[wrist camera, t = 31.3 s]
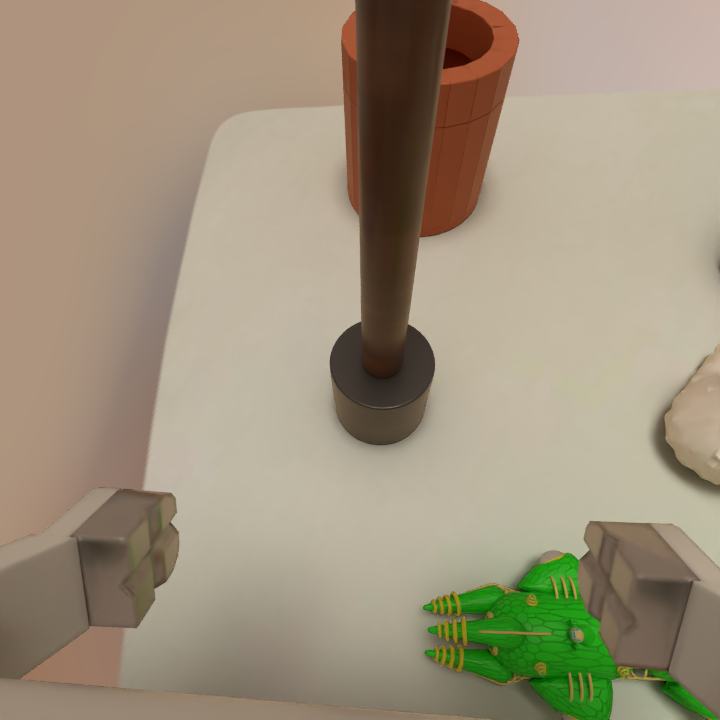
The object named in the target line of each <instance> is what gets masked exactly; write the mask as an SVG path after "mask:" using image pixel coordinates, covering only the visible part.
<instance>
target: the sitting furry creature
mask: <svg viewBox="0 0 720 720" xmlns="http://www.w3.org/2000/svg"><path fill="white" fill-rule="evenodd" d="M664 418H665V427H666V437H665V440H666V441H667V443H668V444H669V445H670V446H671V447H672V448H673V449H674V451H675V456H676V458H677V459H678V461H679V462H680V463H681V464H682V465H684V466H686V467H688V468H690V469H692V470H694V471H695V472H696V473H697V474H698V475H699V476H700V477H701V478H702V479H704V480H708V481H710V482H712V483H713V484H716V485H720V345H718V346H717V347H716V348H715V350H714V353H713V354H711V355H709V356H708V357H707V358H706V359H705V360H704V362H703V364H702V366H701V368H700V369H699V370H697V373H696V374H695V375H694V376H693V377H692V379H691V380H689V383H688V384H687V385H686V387H685V389H683V391H681V392H680V394H679V395H677V396H676V397H674V399H673V402H672V408H671V410H669V411H668V412H667V413H666V415H665V417H664Z"/></svg>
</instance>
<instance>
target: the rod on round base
mask: <svg viewBox="0 0 720 720" xmlns="http://www.w3.org/2000/svg"><path fill="white" fill-rule="evenodd" d="M355 4H356V59H357V113H358V168H359V222H360V277H361V322H359V323H357V324H355V325H353V326H351V327H350V328H348V329H347V330H346V331H345V332H344V333H343V334H342V335H341V336H340V337H339V338H338V340H337V341H336V343H335V345H334V347H333V349H332V352H331V356H330V372H331V379H332V385H333V392H334V399H335V406H336V412H337V416H338V418H339V420H340V422H341V424H342V425H343V427H344V428H345V429H346V430H347V431H348V432H349V433H350V434H351V435H353V436H354V437H355V438H357V439H359V440H361V441H364V442H367V443H370V444H377V445H384V444H391V443H395V442H398V441H400V440H402V439H404V438H406V437H407V436H408V435H410V434H411V433H412V432H413V431H414V430H415V429H416V428H417V426H418V425H419V423H420V421H421V419H422V416H423V413H424V410H425V406H426V402H427V398H428V395H429V391H430V387H431V383H432V380H433V376H434V371H435V358H434V354H433V351H432V349H431V346H430V345H429V343H428V341H427V340H426V339H425V337H424V336H423V335H422V334H421V333H420V332H419V331H418V330H416V329H415V328H414V327H412V326H410V325H409V324H408V319H409V312H410V305H411V297H412V290H413V283H414V275H415V268H416V261H417V253H418V246H419V239H420V231H421V224H422V217H423V209H424V202H425V195H426V187H427V180H428V173H429V165H430V158H431V151H432V143H433V136H434V129H435V121H436V114H437V107H438V99H439V92H440V85H441V77H442V70H443V63H444V55H445V48H446V41H447V33H448V26H449V19H450V11H451V4H452V0H355Z"/></svg>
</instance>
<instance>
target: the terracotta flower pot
mask: <svg viewBox="0 0 720 720" xmlns="http://www.w3.org/2000/svg"><path fill="white" fill-rule="evenodd" d="M341 42H342V43H341V44H342V66H343V90H344V113H345V135H346V158H347V181H348V192H349V198H350V201H351V204H352V205H353V207H354V209H355V210H356V211H357V213H358V214H359V168H358V113H357V59H356V11H354V12H353V13H352V14H351V15H350V17H349V19H348V20H347V21H346V23H345V24H344V26H343V28H342V40H341ZM518 44H519V37H518V33H517V30H516V27H515V25H514V24H513V23H512V22H511V21H510V20H509V19H508V17H507V16H506V15H505V14H504V13H503V12H502V11H500V10H498V9H497V8H495V7H493V6H491V5H489V4H488V3H486V2H483V1H480V0H452V4H451V11H450V19H449V26H448V33H447V41H446V48H445V55H444V63H443V70H442V77H441V85H440V92H439V99H438V107H437V114H436V121H435V129H434V136H433V143H432V151H431V158H430V165H429V173H428V180H427V187H426V195H425V202H424V209H423V217H422V224H421V231H420V236H430V235H435V234H439V233H442V232H445V231H448V230H450V229H452V228H454V227H456V226H458V225H459V224H461V223H462V222H463V221H464V220H466V219H467V218H468V216H469V215H470V214H471V213H472V211H473V210H474V208H475V206H476V203H477V200H478V196H479V193H480V190H481V186H482V182H483V178H484V175H485V171H486V167H487V163H488V159H489V155H490V152H491V148H492V144H493V140H494V136H495V132H496V129H497V125H498V121H499V117H500V113H501V110H502V106H503V102H504V98H505V94H506V90H507V86H508V83H509V79H510V75H511V71H512V67H513V63H514V60H515V56H516V52H517V48H518Z"/></svg>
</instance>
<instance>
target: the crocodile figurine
mask: <svg viewBox="0 0 720 720" xmlns="http://www.w3.org/2000/svg"><path fill="white" fill-rule="evenodd" d="M578 568H579V560H578V559H577V558H576V557H575V556H573V555H572V554H570V553H564V554H563V553H561V552H559V551H548V552H546V553H544V554H543V555H542V556H541V557H540V558H539V565H537V566H535V567H533V568H532V569H531V570H530V572H529V573H528V574H527V575H526V576H525V577H524V578H523V580H522V581H521V582H520V584H519V585H518V587H517V589H520V590H523V591H525V592H521V591H518V590H512V589H510V588H509V587H505V586H501V585H498V584H495V583H489V584H486V585H484V586H481V587H478V588H476V589H473V590H469V591H467V592H466V593H463V594H460V595H457V594H456V593H455V592H454V591H453V592H451V594H450V598H449V596H448V595H446V594H445V595H444V596H443V600H442V599H441V597H437V599H436V602H435V600H432V601H431V603H430V604H427V605H424V606H423V609H424V610H433V613H434V614H437V611H438V612H439V614H440V615H443V614H444V611H445V612H446V614H447V615H448V616H451V615H452V612H453V613H454V614H455V616H456V617H460V615H461V612H462V613H477V614H486V616H485V619H480V620H473V621H467V622H466V618H465V617H462V618H461V622H460V623H457V620H456V619H453V620H452V624H449V622H448V620H445V622H444V625H442V624H441V623H440V622H439V623H438V626H434V627H429V628H428V631H429V632H430V633H434V634H438V636H439V638H442V635H444V636H445V640H446V641H449V640H450V637H453V640H454V643H458V639H462V640H463V645H464V646H467V645H468V641H471V642H476V643H480V644H485V645H488V648H489V650H480V649H476V650H464V649H463V647H462V645H458V646H457V647H456V650H454V647H453V646H452V645H450V646H449V647H448V649H447V650H446V647H445V646H441V648H440V650H439V648H438V647H437V646H436V647H435V649H434V650H426V651H425V654H426V655H428V656H430V657H433V659H434V661H435V662H437V661H438V660H439V663H440V665H441V666H443V665H444V664H445V662H446V665H447V667H448V668H449V669H451V668H452V667H453V665H454V668H455V671H456V672H458V673H459V672H461V670H462V669H464V670H467V671H470V672H472V673H474V674H475V675H477V676H482V677H484V678H485V679H487V680H489V681H493V682H494V683H496V684H498V685H507V684H510V683H513V682H519V681H521V680H522V679H528V678H536V679H533V680H530V681H529V683H530V685H531V686H532V687H533V688H534V689H535V690H536V692H537V693H538V694H539V695H540V696H541V697H542V698H543V699H544V700H545V701H546V702H547V703H548V704H549V705H550V706H551V707H552V708H554V709H555V710H556V711H558V712H560V713H561V716H562V718H563V720H609V718H610V714H611V710H612V700H613V689H612V682H611V680H613V679H631V680H664V681H666V683H665V684H664V686H663V687H662V688H661V689H662V691H664V692H665V693H666V694H667V695H669V696H670V697H671V698H672V699H674V700H675V701H676V702H678V703H679V704H681V705H682V706H684V707H685V708H687V709H689V710H691V711H693V712H695V713H698V714H700V715H701V716H703V717H704V718H706V719H707V720H719V719H718V718H717V717H716V716H714V715H713V714H712V713H711V712H710V711H709V710H708V709H707V708H705V707H704V706H703V705H702V704H701V703H700V702H699V701H698V700H696V699H695V698H694V697H693V696H692V695H691V694H690V693H689V692H687V691H686V690H685V689H684V688H683V687H682V686H681V685H680V684H678V683H677V682H676V681H675V680H674V679H673V678H672V677H671V676H669V675H668V672H667V671H658V670H649V669H643V670H644V672H645V673H644V676H643V677H637V676H636V675H635V674H634V672H633V669H634V668H630V667H621V666H616V665H615V664H614V662H613V660H612V658H611V656H610V654H609V652H608V650H607V648H606V647H605V645H604V643H603V641H602V639H601V637H600V635H599V633H598V632H599V627H600V622H599V621H598V620H596V619H595V618H594V617H593V616H591V615H590V614H589V613H588V612H587V610H586V608H585V606H584V604H583V602H582V599H581V596H580V593H579V587H578V576H577V574H578ZM490 585H494V586H490ZM496 586H497V587H496ZM500 588H502V589H503V590H504V591H505V593H504V591H503V590H501V589H500ZM506 589H508V591H506ZM510 592H512V593H510ZM508 593H509V594H508ZM629 673H631V674H632V676H633V677H630V674H629ZM647 674H648V675H652V676H654V677H656V678H650V677H646V676H647ZM513 675H514V677H513ZM519 675H520V676H519ZM512 677H513V679H511V678H512ZM516 677H518V678H519V679H516ZM510 679H511V680H510ZM515 679H516V680H515ZM497 681H498V682H497ZM501 682H504V683H501Z"/></svg>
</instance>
